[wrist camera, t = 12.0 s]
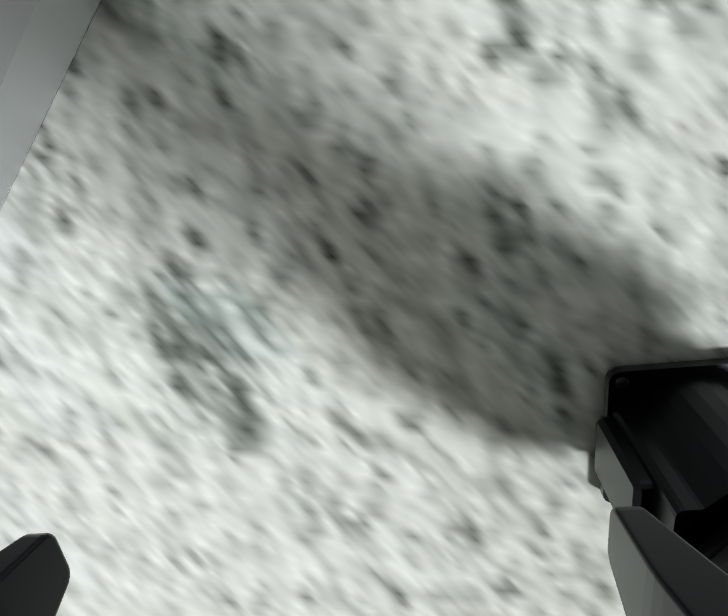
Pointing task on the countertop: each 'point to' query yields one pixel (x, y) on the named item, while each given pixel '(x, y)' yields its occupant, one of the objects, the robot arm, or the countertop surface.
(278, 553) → the countertop surface
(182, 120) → the countertop surface
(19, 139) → the panel
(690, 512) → the robot arm
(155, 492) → the countertop surface
